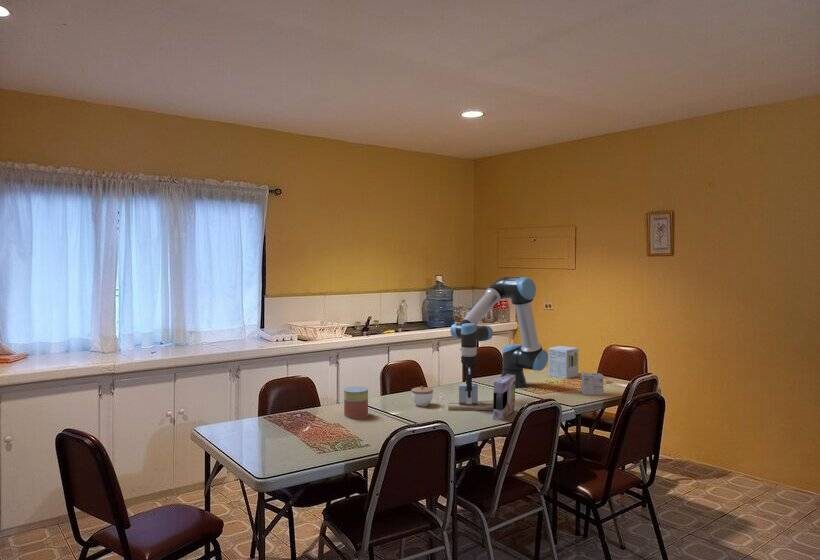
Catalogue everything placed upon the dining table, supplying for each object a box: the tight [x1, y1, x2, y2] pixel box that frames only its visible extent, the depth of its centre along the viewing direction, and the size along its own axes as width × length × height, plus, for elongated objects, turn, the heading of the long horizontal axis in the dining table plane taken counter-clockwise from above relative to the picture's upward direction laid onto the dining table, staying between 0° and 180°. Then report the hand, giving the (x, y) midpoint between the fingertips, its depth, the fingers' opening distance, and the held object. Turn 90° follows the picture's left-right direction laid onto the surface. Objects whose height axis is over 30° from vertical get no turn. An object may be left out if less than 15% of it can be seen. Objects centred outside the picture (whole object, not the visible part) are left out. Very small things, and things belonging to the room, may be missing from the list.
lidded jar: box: [410, 385, 434, 407], centre depth 288 cm, size 11×11×9 cm
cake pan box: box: [492, 374, 516, 421], centre depth 268 cm, size 19×5×18 cm, turn 151°
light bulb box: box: [581, 372, 605, 396], centre depth 310 cm, size 11×7×11 cm, turn 84°
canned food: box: [343, 386, 369, 419], centre depth 270 cm, size 11×11×12 cm
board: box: [447, 399, 493, 411], centre depth 283 cm, size 13×26×2 cm, turn 86°
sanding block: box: [458, 383, 479, 405], centre depth 283 cm, size 5×9×9 cm, turn 86°
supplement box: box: [548, 345, 579, 380], centre depth 357 cm, size 13×13×18 cm
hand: (468, 402), depth 283 cm, fingers open, 5 cm apart
